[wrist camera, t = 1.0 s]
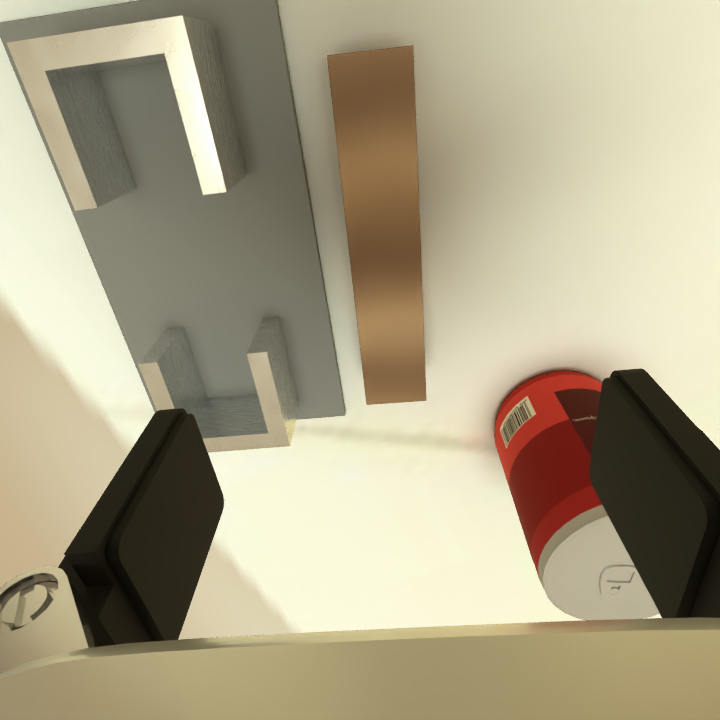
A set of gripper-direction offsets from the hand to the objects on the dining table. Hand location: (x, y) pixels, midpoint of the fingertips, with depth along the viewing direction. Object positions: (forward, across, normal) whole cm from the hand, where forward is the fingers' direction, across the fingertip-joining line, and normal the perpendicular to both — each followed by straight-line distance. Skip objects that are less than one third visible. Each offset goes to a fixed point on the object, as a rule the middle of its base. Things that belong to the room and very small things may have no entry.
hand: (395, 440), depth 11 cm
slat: (+16, 0, 0) cm, 17 cm away
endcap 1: (+16, +9, -7) cm, 20 cm away
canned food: (+16, -10, +13) cm, 23 cm away
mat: (+16, +10, 0) cm, 19 cm away
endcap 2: (+16, +10, +7) cm, 20 cm away
